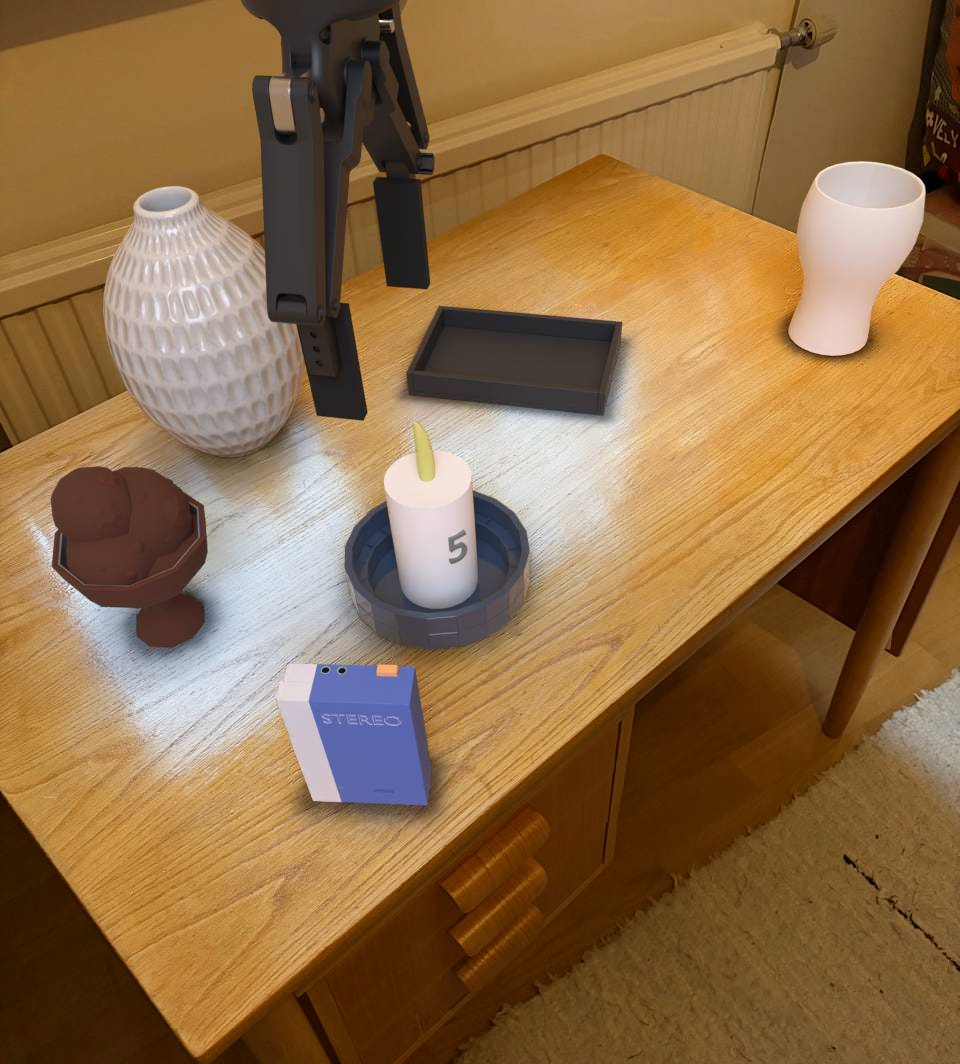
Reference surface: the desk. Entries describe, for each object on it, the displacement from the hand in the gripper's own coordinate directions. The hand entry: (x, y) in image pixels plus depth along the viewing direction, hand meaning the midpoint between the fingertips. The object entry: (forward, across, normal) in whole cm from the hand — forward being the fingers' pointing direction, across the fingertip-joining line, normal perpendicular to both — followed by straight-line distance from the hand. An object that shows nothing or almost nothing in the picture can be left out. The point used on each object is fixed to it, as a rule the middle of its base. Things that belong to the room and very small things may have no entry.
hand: (378, 345), depth 54 cm
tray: (+23, -32, +2) cm, 40 cm away
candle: (+23, -2, +1) cm, 23 cm away
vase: (+23, -18, -22) cm, 37 cm away
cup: (+23, -43, +32) cm, 58 cm away
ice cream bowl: (+23, +5, -19) cm, 30 cm away
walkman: (+23, +17, +2) cm, 29 cm away
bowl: (+23, -2, +1) cm, 23 cm away
